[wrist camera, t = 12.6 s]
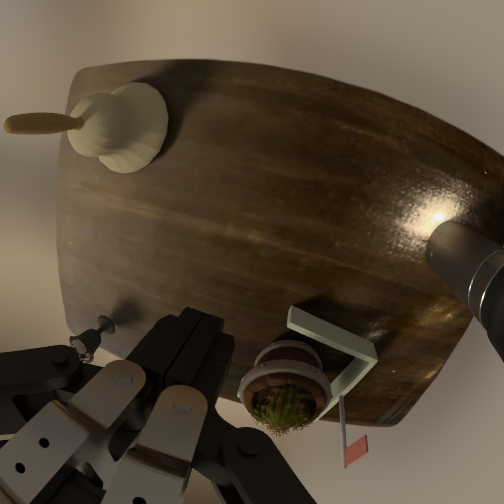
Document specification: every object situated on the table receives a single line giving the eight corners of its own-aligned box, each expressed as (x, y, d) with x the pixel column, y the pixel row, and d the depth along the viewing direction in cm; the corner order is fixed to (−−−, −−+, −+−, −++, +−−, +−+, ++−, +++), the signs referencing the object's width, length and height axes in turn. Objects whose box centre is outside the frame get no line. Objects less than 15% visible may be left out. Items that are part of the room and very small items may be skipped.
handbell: (150, 187, 42) (24, 226, 18) (89, 154, 41) (-26, 172, 18) (189, 98, 36) (69, 54, 13) (120, 75, 36) (5, 49, 12)
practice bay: (242, 379, 52) (215, 464, 32) (291, 305, 44) (280, 404, 25) (313, 406, 51) (308, 488, 32) (373, 342, 44) (396, 436, 25)
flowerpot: (319, 388, 49) (318, 473, 31) (245, 377, 51) (220, 459, 33) (339, 333, 44) (351, 427, 26) (252, 320, 46) (223, 410, 28)
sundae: (105, 308, 52) (62, 346, 38) (122, 333, 54) (84, 375, 40) (90, 316, 54) (50, 351, 40) (106, 339, 56) (70, 377, 42)
